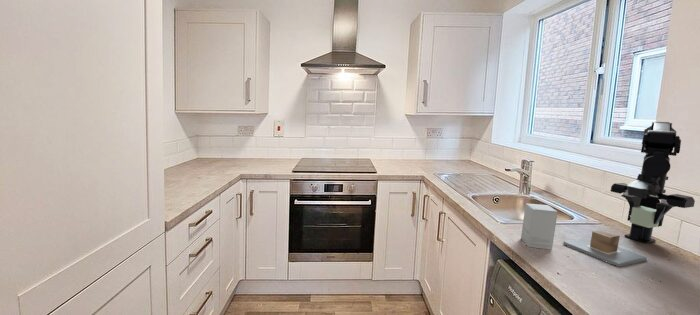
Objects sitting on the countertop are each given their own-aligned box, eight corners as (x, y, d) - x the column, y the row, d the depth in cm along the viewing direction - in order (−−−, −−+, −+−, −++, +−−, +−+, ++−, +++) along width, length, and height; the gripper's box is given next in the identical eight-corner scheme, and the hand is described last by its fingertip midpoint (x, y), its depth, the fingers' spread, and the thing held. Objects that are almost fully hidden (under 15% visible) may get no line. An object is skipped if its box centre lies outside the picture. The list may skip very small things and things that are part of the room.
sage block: (638, 220, 105) (641, 206, 104) (658, 226, 101) (661, 210, 100) (629, 222, 103) (632, 207, 102) (648, 228, 99) (652, 212, 98)
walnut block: (599, 244, 106) (602, 229, 105) (617, 250, 101) (619, 235, 101) (589, 246, 104) (592, 231, 103) (607, 253, 100) (609, 237, 99)
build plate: (590, 239, 113) (590, 236, 113) (646, 260, 98) (646, 256, 98) (563, 244, 108) (563, 241, 107) (618, 267, 93) (618, 263, 93)
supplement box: (552, 250, 102) (558, 211, 101) (527, 247, 104) (532, 209, 102) (543, 241, 110) (549, 204, 108) (520, 238, 111) (525, 202, 109)
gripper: (604, 167, 105) (596, 213, 107) (679, 179, 88) (668, 235, 90) (624, 166, 109) (616, 211, 111) (700, 178, 92) (689, 231, 94)
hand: (644, 221), depth 102 cm, fingers closed on sage block, 5 cm apart
